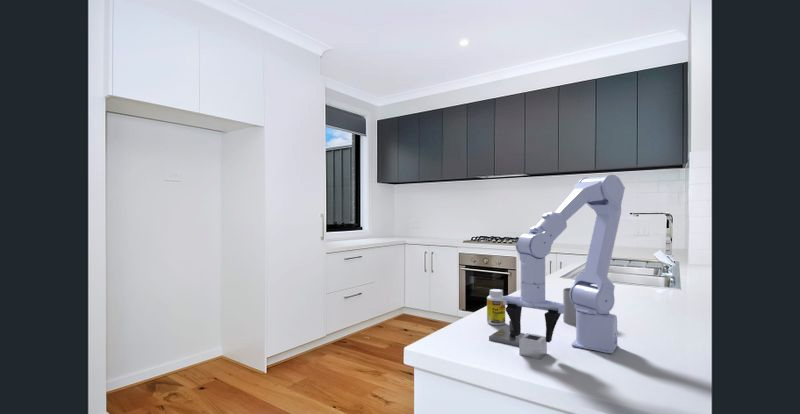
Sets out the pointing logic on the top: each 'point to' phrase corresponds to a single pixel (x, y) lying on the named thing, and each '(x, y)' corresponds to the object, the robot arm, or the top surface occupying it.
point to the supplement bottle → (495, 307)
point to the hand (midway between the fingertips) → (532, 338)
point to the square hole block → (532, 346)
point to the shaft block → (506, 336)
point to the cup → (568, 309)
